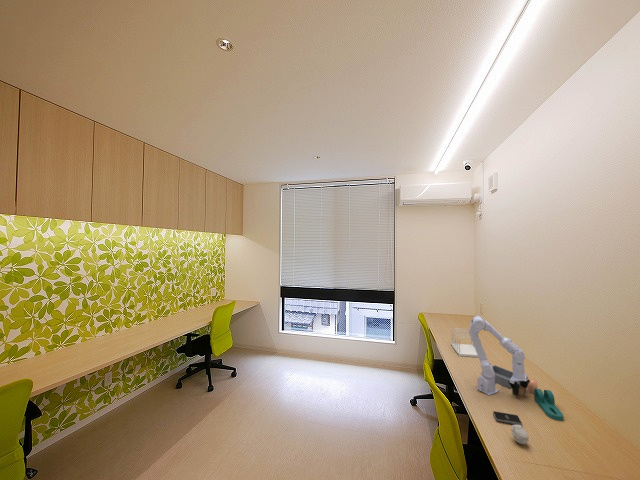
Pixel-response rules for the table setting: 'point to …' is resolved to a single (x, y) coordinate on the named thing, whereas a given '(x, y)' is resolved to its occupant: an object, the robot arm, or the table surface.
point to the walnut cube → (521, 393)
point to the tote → (503, 376)
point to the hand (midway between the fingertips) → (519, 392)
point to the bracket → (547, 404)
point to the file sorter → (464, 346)
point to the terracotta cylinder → (532, 386)
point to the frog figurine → (519, 434)
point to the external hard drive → (507, 418)
